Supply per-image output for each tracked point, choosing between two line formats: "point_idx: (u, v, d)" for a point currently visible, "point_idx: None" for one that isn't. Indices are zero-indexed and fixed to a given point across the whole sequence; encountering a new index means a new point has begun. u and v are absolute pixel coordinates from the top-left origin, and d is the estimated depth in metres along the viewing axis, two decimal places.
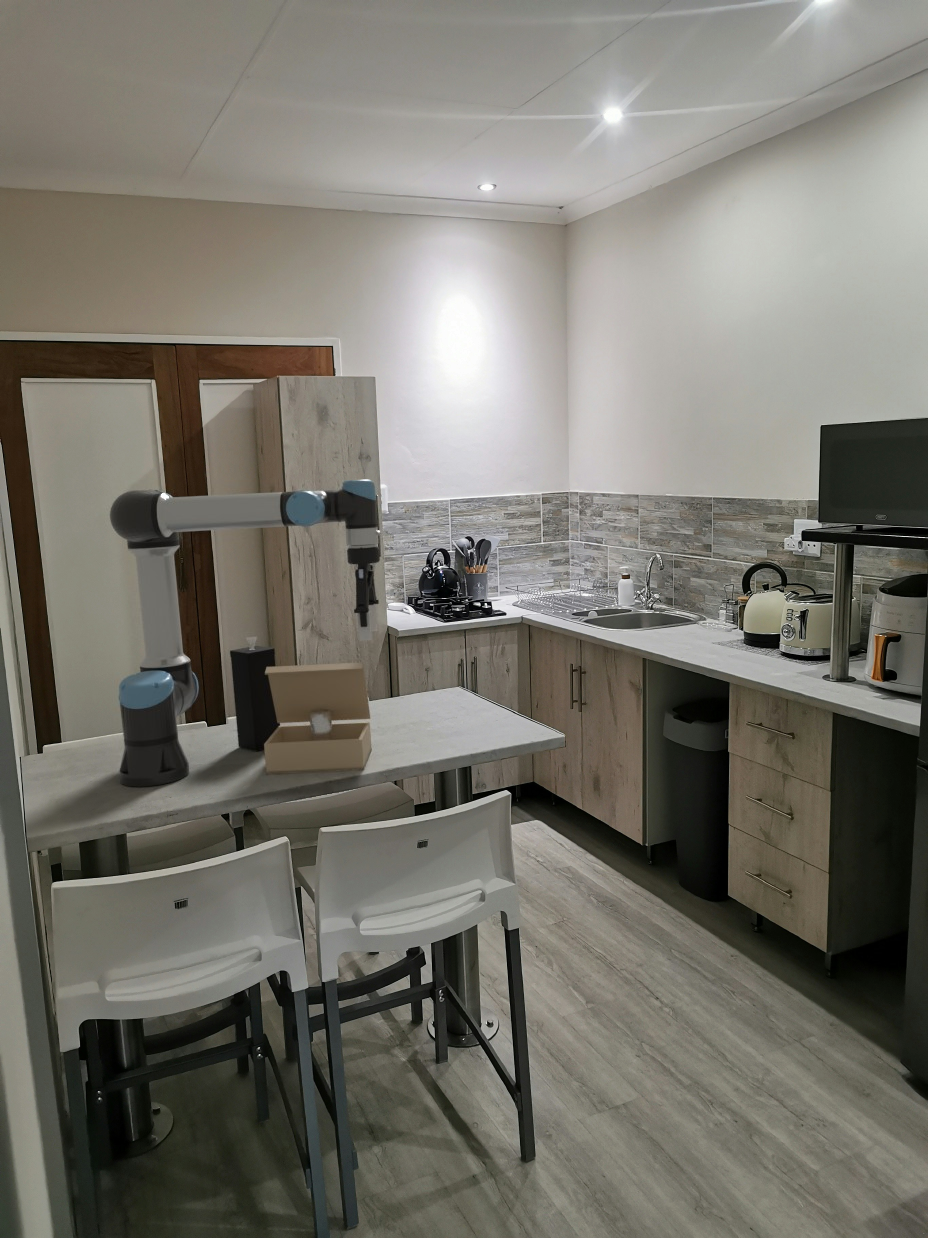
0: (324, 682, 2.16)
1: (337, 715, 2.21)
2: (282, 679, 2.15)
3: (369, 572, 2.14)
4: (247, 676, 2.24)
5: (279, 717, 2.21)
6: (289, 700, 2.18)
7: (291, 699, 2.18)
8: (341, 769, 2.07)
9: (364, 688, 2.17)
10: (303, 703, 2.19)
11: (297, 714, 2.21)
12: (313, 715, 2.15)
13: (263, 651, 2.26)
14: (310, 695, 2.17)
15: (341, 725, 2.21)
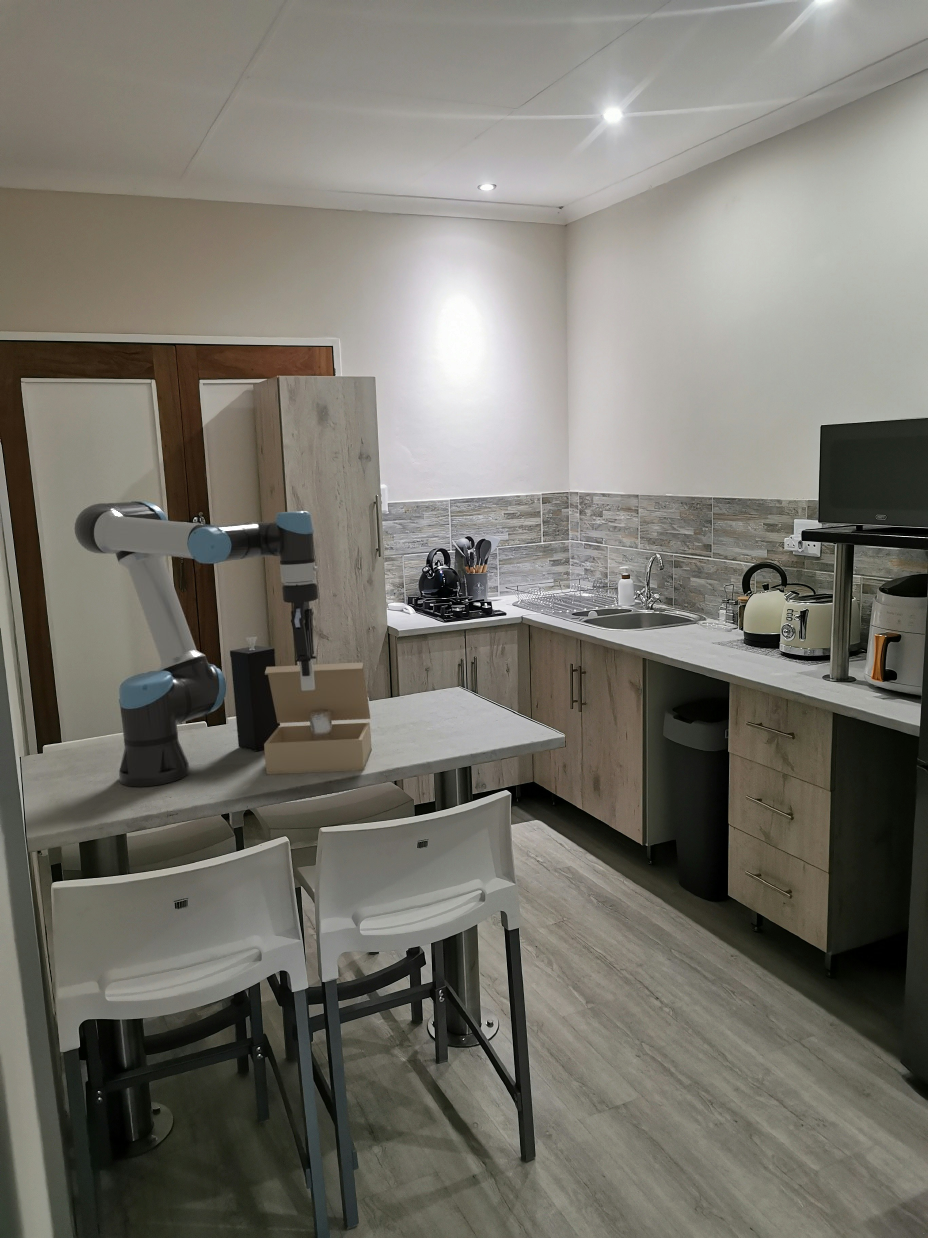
0: (324, 682, 2.16)
1: (337, 715, 2.21)
2: (282, 679, 2.15)
3: (306, 613, 1.98)
4: (247, 676, 2.24)
5: (279, 717, 2.21)
6: (289, 700, 2.18)
7: (291, 699, 2.18)
8: (341, 769, 2.07)
9: (364, 688, 2.17)
10: (303, 703, 2.19)
11: (297, 714, 2.21)
12: (313, 715, 2.15)
13: (263, 651, 2.26)
14: (310, 695, 2.17)
15: (341, 725, 2.21)
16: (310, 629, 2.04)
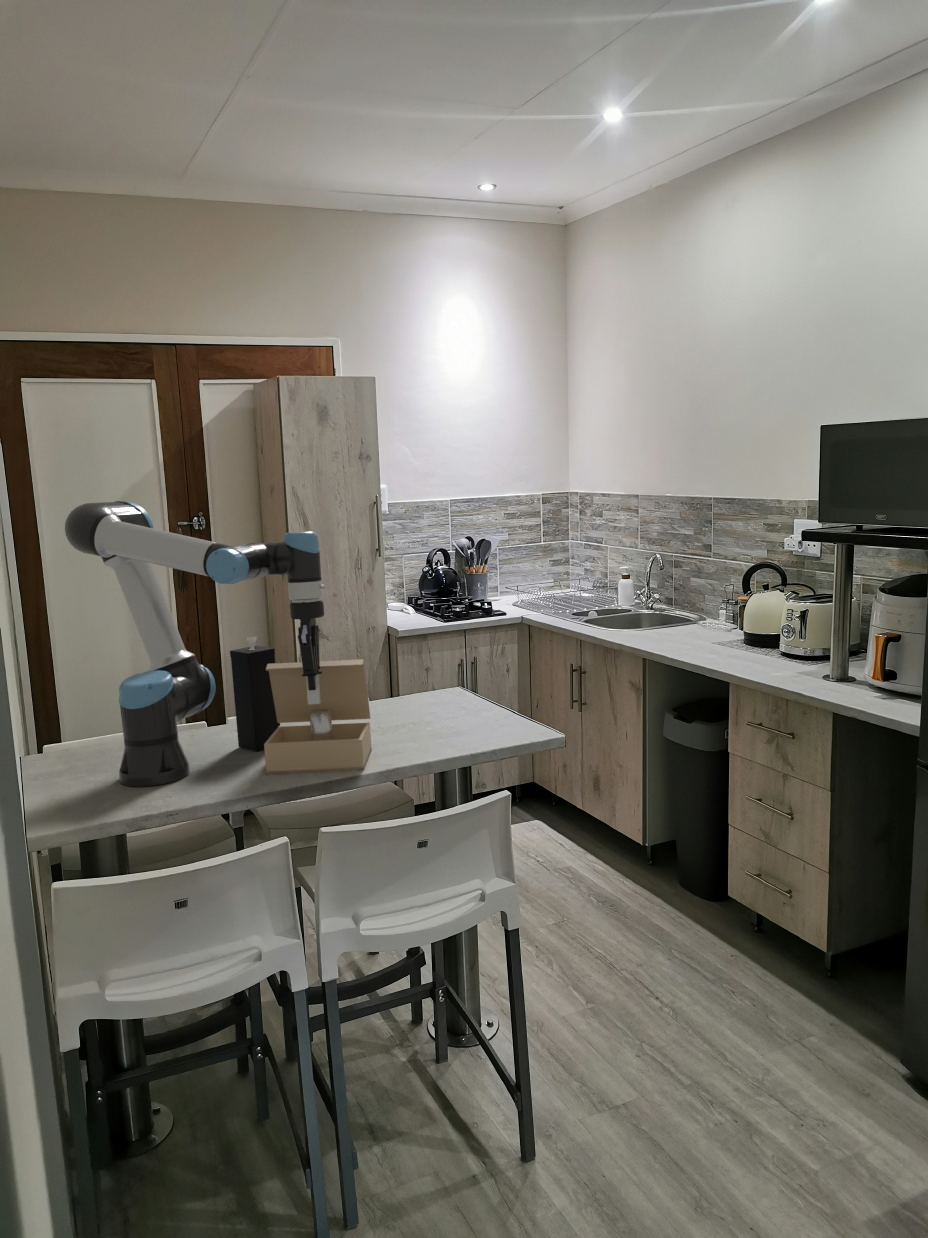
0: (325, 680, 2.16)
1: (337, 715, 2.21)
2: (283, 676, 2.16)
3: (312, 629, 2.06)
4: (247, 676, 2.24)
5: (279, 716, 2.21)
6: (289, 698, 2.19)
7: (291, 698, 2.19)
8: (341, 769, 2.07)
9: (364, 686, 2.17)
10: (303, 702, 2.19)
11: (297, 713, 2.21)
12: (313, 715, 2.15)
13: (263, 651, 2.26)
14: None
15: (341, 725, 2.21)
16: (316, 645, 2.12)
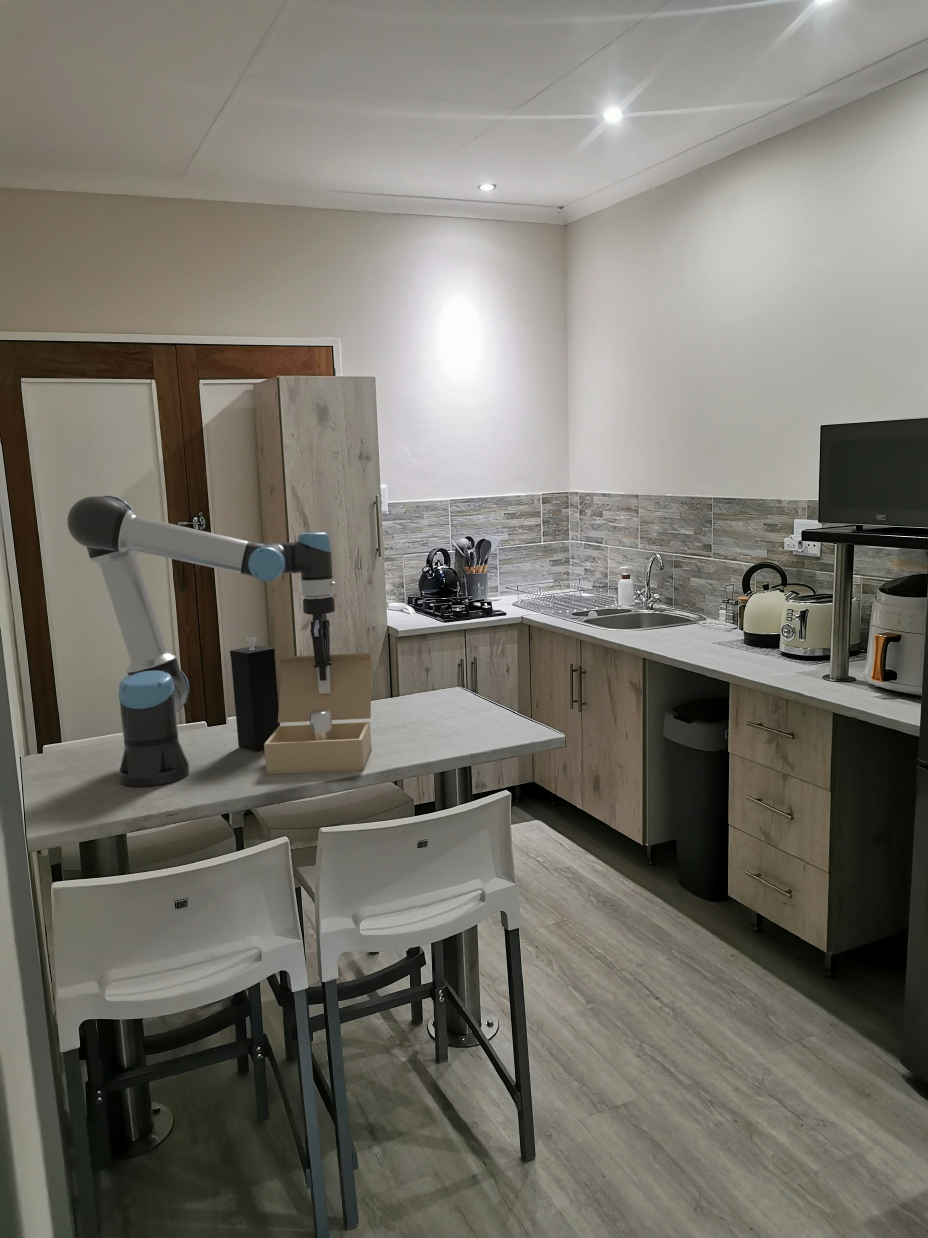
0: (332, 676, 2.27)
1: (338, 713, 2.23)
2: (293, 673, 2.28)
3: (324, 623, 2.21)
4: (247, 676, 2.24)
5: (281, 715, 2.23)
6: (295, 695, 2.25)
7: (297, 695, 2.25)
8: (341, 769, 2.07)
9: (369, 683, 2.26)
10: (308, 699, 2.25)
11: (299, 712, 2.23)
12: (313, 715, 2.15)
13: (263, 651, 2.26)
14: (316, 690, 2.26)
15: (341, 725, 2.21)
16: (327, 638, 2.27)
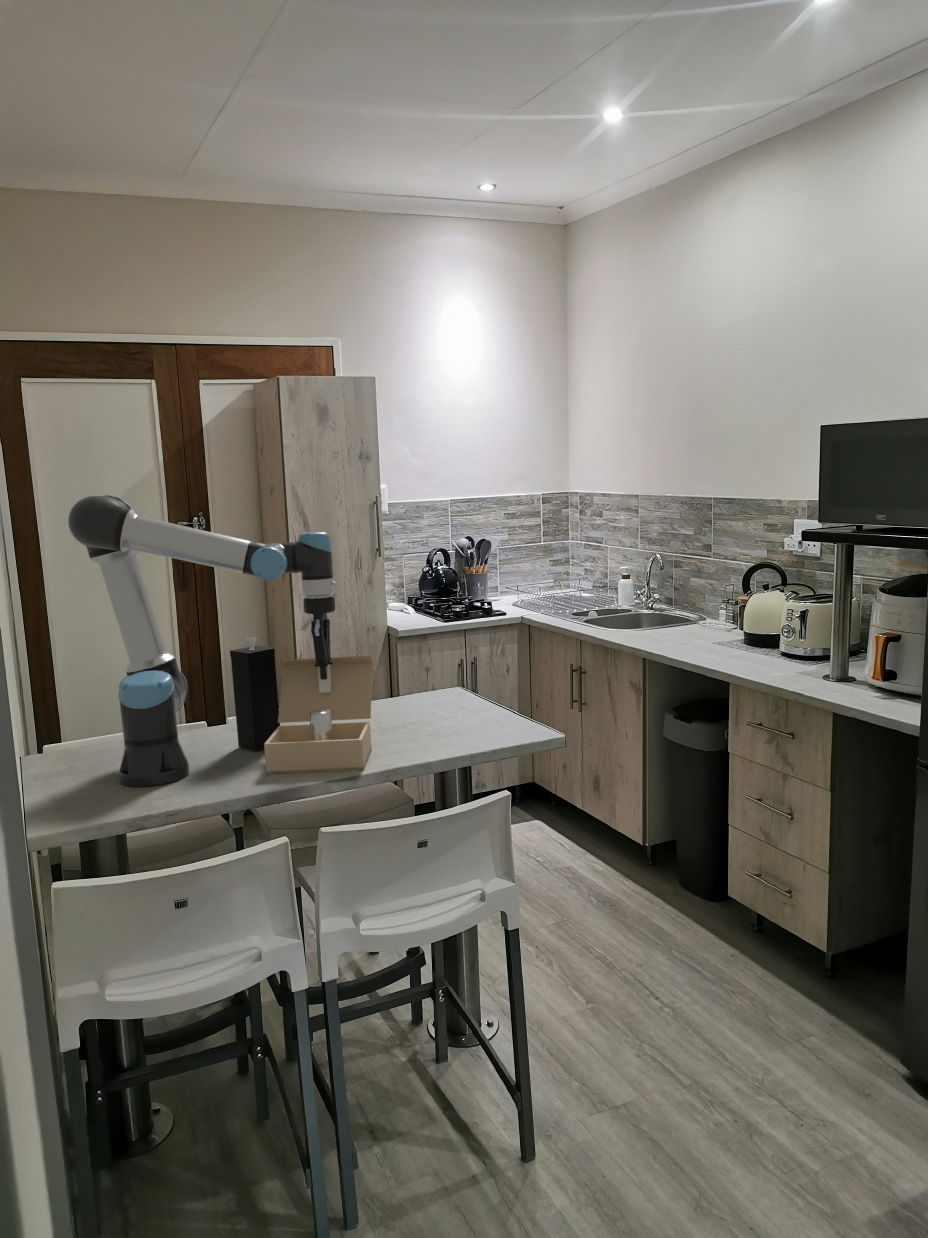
0: (333, 679, 2.28)
1: (338, 713, 2.23)
2: (295, 676, 2.30)
3: (325, 623, 2.22)
4: (247, 676, 2.24)
5: (281, 715, 2.23)
6: (296, 697, 2.26)
7: (298, 696, 2.26)
8: (341, 769, 2.07)
9: (369, 685, 2.27)
10: (308, 700, 2.25)
11: (299, 712, 2.23)
12: (313, 715, 2.15)
13: (263, 651, 2.26)
14: (317, 692, 2.27)
15: (341, 725, 2.21)
16: (327, 637, 2.28)
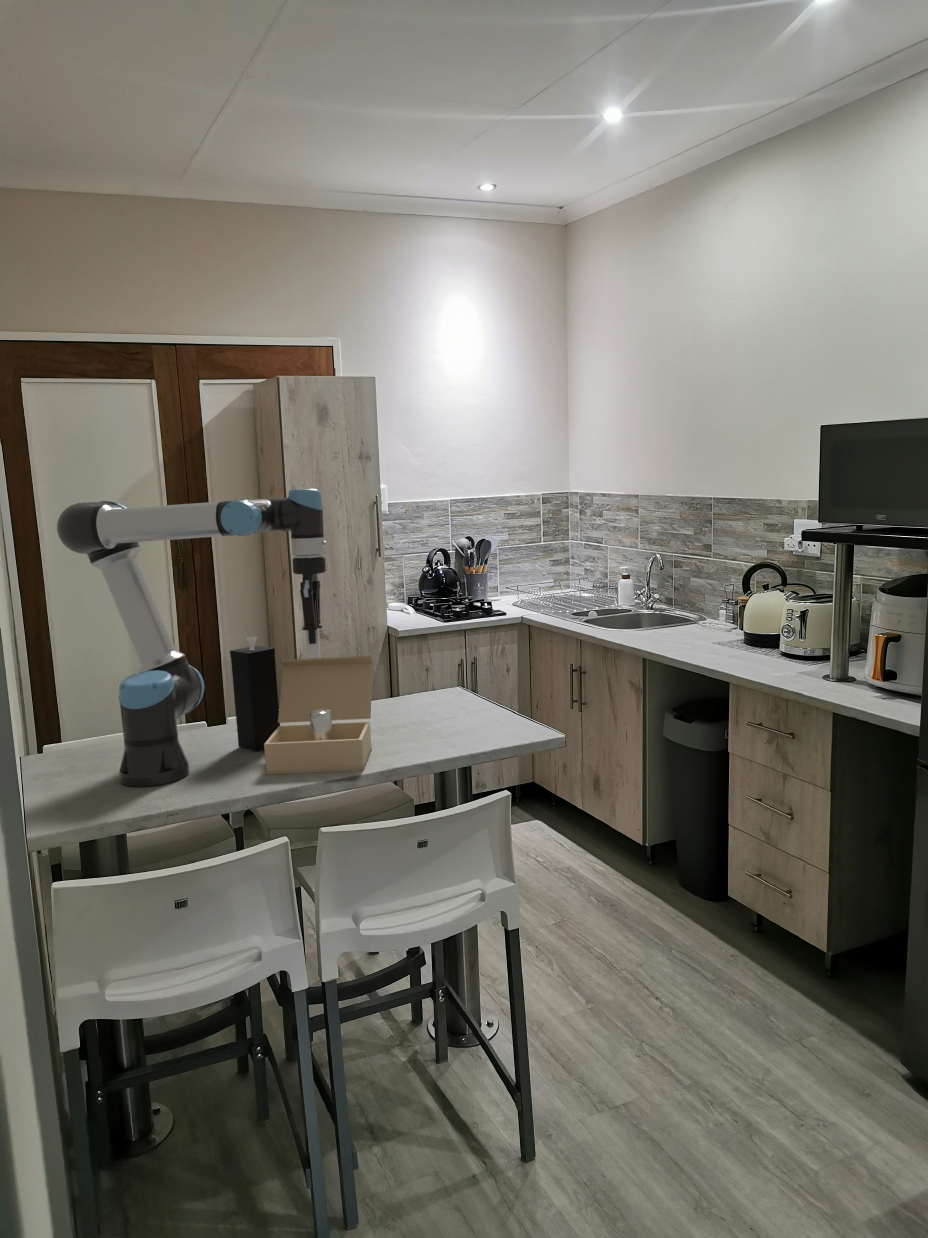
0: (333, 679, 2.29)
1: (338, 713, 2.23)
2: (295, 676, 2.30)
3: (314, 584, 2.11)
4: (247, 676, 2.24)
5: (281, 715, 2.23)
6: (296, 697, 2.26)
7: (298, 696, 2.26)
8: (341, 769, 2.07)
9: (369, 685, 2.27)
10: (308, 700, 2.25)
11: (299, 712, 2.23)
12: (313, 715, 2.15)
13: (263, 651, 2.26)
14: (317, 692, 2.27)
15: (341, 725, 2.21)
16: (317, 600, 2.18)
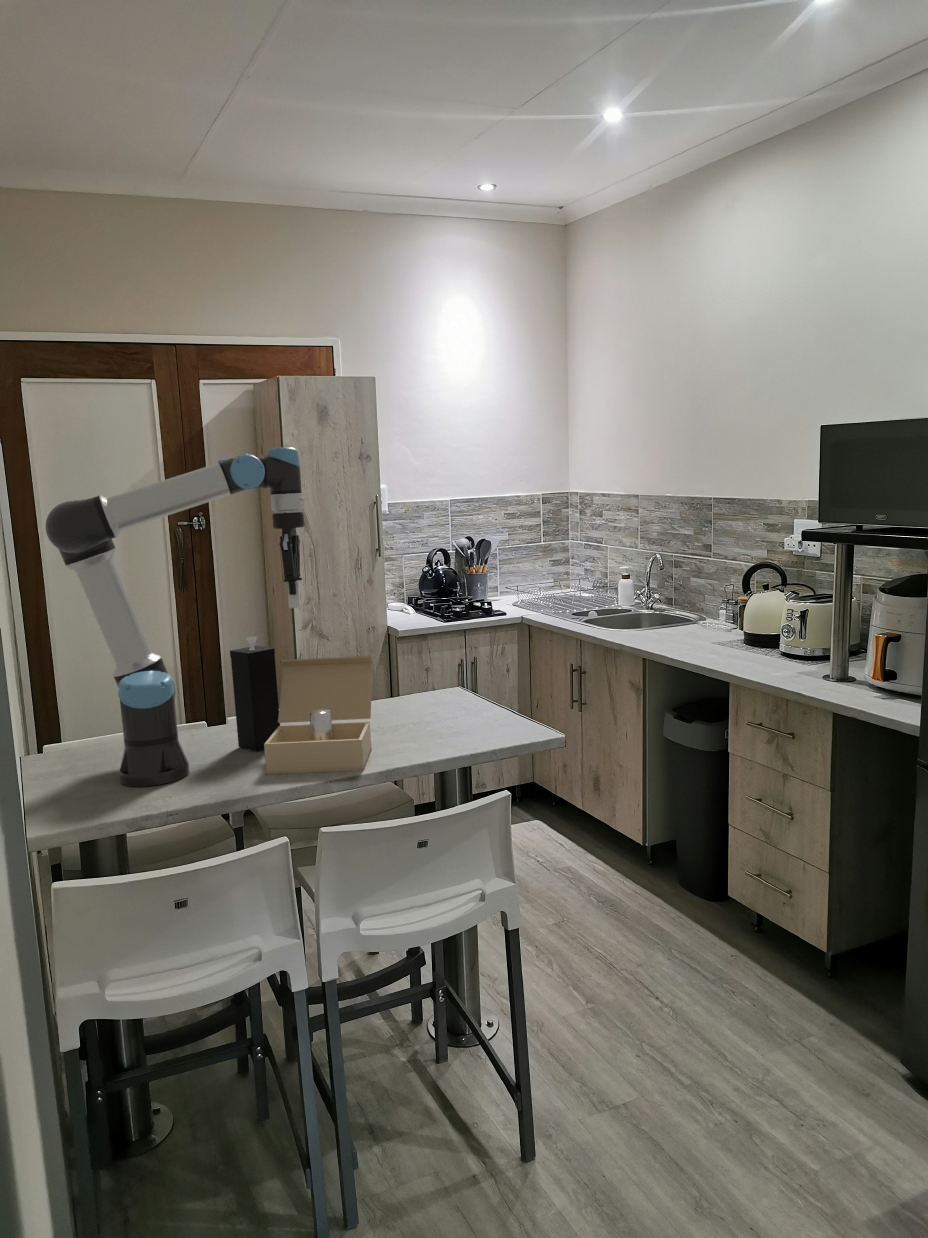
0: (333, 679, 2.29)
1: (338, 713, 2.23)
2: (295, 676, 2.30)
3: (293, 538, 2.24)
4: (247, 676, 2.24)
5: (281, 715, 2.23)
6: (296, 697, 2.26)
7: (298, 696, 2.26)
8: (341, 769, 2.07)
9: (369, 685, 2.27)
10: (308, 700, 2.25)
11: (299, 712, 2.23)
12: (313, 715, 2.15)
13: (263, 651, 2.26)
14: (317, 692, 2.27)
15: (341, 725, 2.21)
16: (297, 554, 2.30)
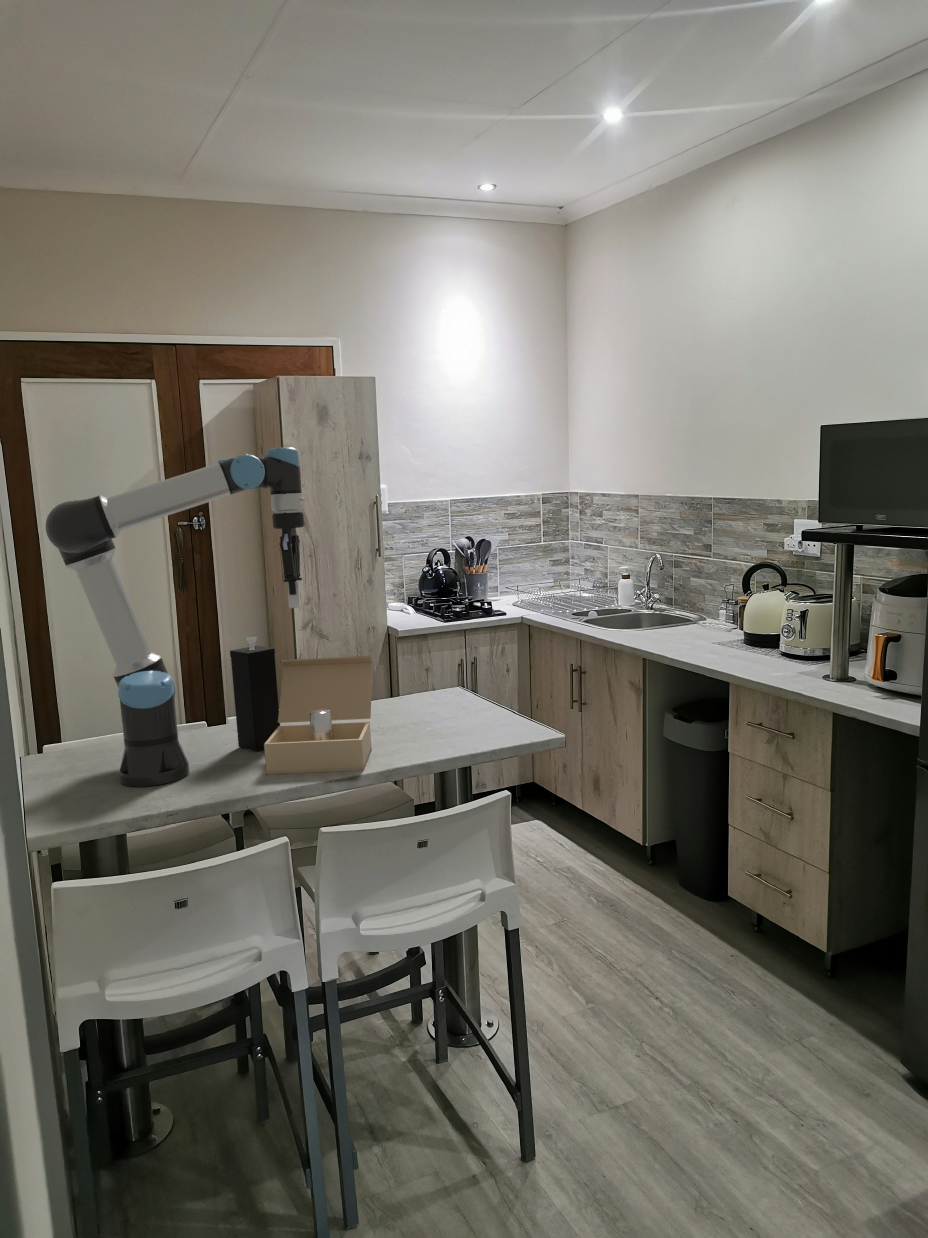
0: (333, 679, 2.29)
1: (338, 713, 2.23)
2: (295, 676, 2.30)
3: (293, 538, 2.24)
4: (247, 676, 2.24)
5: (281, 715, 2.23)
6: (296, 697, 2.26)
7: (298, 696, 2.26)
8: (341, 769, 2.07)
9: (369, 685, 2.27)
10: (308, 700, 2.25)
11: (299, 712, 2.23)
12: (313, 715, 2.15)
13: (263, 651, 2.26)
14: (317, 692, 2.27)
15: (341, 725, 2.21)
16: (297, 554, 2.30)
